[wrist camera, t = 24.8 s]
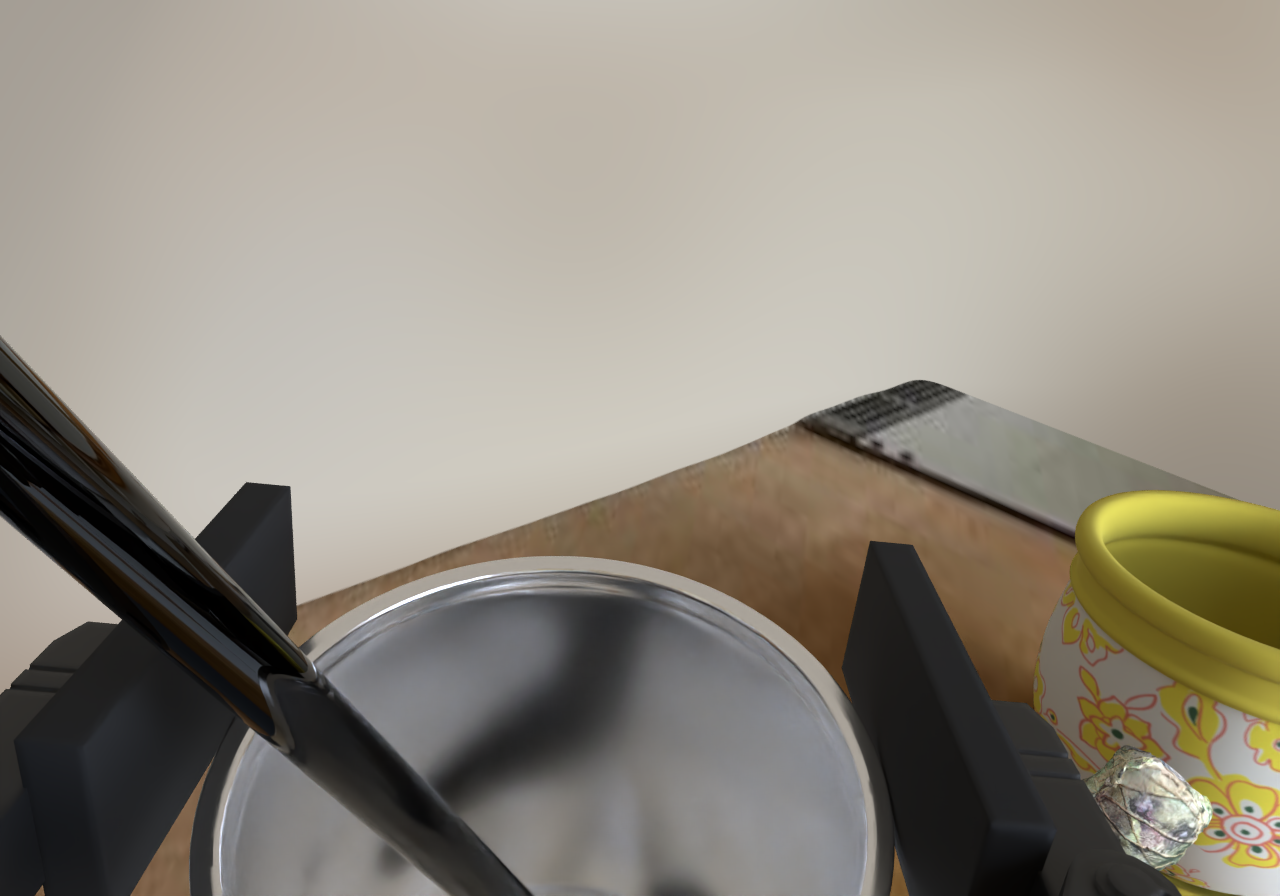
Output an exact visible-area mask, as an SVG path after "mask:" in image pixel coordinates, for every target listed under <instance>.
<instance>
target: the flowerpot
mask: <svg viewBox="0 0 1280 896" xmlns="http://www.w3.org/2000/svg"><path fill="white" fill-rule="evenodd" d="M1075 541H1076V546H1077V550H1078V553H1077V554H1076V555H1075V557H1074V558H1073V560H1072V563H1071V566H1070V580H1069V582H1068V584H1067V586H1066V588H1065V589H1064V591H1063V593H1062V595H1061V597H1060V598H1059V600H1058V602H1057V604H1056V606H1055V608H1054V610H1053V613H1052V615H1051V617H1050V620H1049V622H1048V625H1047V628H1046V630H1045V633H1044V636H1043V639H1042V642H1041V646H1040V649H1039V653H1038V657H1037V662H1036V668H1035V674H1034V709H1035V711H1036V712H1037V713H1038V714H1039V715H1040V716H1041V717H1042V718H1043V719H1045V720H1046V721H1047V722H1048V723H1049V724H1050V725H1051V726H1052V727H1053V728H1054V729H1055V731H1056V733H1057V735H1058V736H1059V738H1060V740H1061V742H1062V743H1063V745H1064V747H1065V749H1066V750H1067V752H1068V758H1069V759H1072V761H1073V762H1074V764H1075V766H1076V768H1077V769H1078V771H1079V773H1080V775H1081V780H1082V779H1085V778H1088V777H1090V776H1092V775H1094V774H1095V773H1096V772H1097V771H1098V770H1100V769H1101V768H1102V767H1104V766H1105V765H1106V763H1107V762H1108V761H1109V760H1110V759H1111V758H1112V757H1113V755H1114V753H1115V752H1116V751H1117V750H1118V749H1120V748H1121V747H1122V746H1124V745H1130V746H1133V747H1136V748H1138V749H1140V750H1143V751H1146V752H1150V753H1151V754H1152V755H1154V756H1156V757H1157V758H1159V759H1161V760H1163V761H1164V762H1165V763H1166V764H1167V765H1169V766H1170V767H1172V768H1173V769H1174V770H1175V771H1176V772H1177V773H1179V774H1180V775H1181V776H1182V777H1183V778H1184V779H1185V781H1186V782H1188V783H1189V784H1190V785H1191V787H1192V788H1193V789H1195V790H1196V791H1198V792H1199V793H1200V794H1201V795H1204V796H1207V798H1208V799H1209V801H1210V803H1211V807H1212V810H1213V814H1212V819H1211V821H1210V823H1209V825H1208V827H1206V828H1204V830H1203V832H1201V833H1200V834H1198V838H1197V840H1196V841H1195V842H1194V843H1193V844H1192V845H1191V846H1190V847H1189V848H1187V849H1186V851H1185V855H1184V856H1183V857H1181V858H1180V861H1179V862H1178V863H1177V864H1175V865H1171V866H1166V867H1165V868H1164V869H1163V870H1160V871H1159V872H1160V873H1161V874H1163V875H1164V876H1165V877H1166V878H1167V879H1168V880H1169V881H1171V882H1172V883H1173V884H1174V885H1175V886H1176V888H1177V889H1178V891H1179V892H1180V893H1181V895H1182V896H1280V511H1279V510H1276V509H1272V508H1268V507H1265V506H1261V505H1256V504H1252V503H1248V502H1244V501H1239V500H1234V499H1229V498H1224V497H1219V496H1213V495H1206V494H1199V493H1191V492H1181V491H1166V490H1142V491H1130V492H1123V493H1118V494H1114V495H1110V496H1107V497H1104V498H1102V499H1099V500H1098V501H1096V502H1094V503H1092V504H1091V505H1090V506H1088V507H1087V508H1086V509H1085V511H1084V512H1083V513H1082V515H1081V516H1080V518H1079V520H1078V523H1077V526H1076V531H1075Z"/></svg>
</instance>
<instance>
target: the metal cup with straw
mask: <svg viewBox="0 0 1280 896" xmlns="http://www.w3.org/2000/svg"><path fill="white" fill-rule="evenodd" d="M0 517H1V518H3V519H4V520H5V521H6V522H7V523H9V524H10V525H11V526H12V527H13V528H14V529H16V530H17V531H18V532H19V533H20V534H22V535H23V536H24V537H25V538H27V540H29V541H30V542H31V543H32V544H33V545H35V546H36V547H37V548H38V549H40V551H42V552H43V553H44V554H45V555H46V556H48V557H49V558H50V559H51V560H52V561H53V562H55V563H56V564H57V565H58V566H59V567H61V568H62V569H63V570H64V571H65V572H67V573H68V574H69V575H70V576H71V577H72V578H74V579H75V580H76V581H77V582H78V583H79V584H81V585H82V586H83V587H84V588H85V589H87V590H88V591H89V592H90V593H91V594H93V595H94V596H95V597H96V598H97V599H98V600H100V601H101V602H102V603H103V604H104V605H105V606H107V607H108V608H109V609H110V610H111V611H113V612H114V613H115V614H116V615H118V617H120V618H121V619H122V620H123V621H124V622H126V623H127V624H128V625H129V626H130V627H131V628H133V629H134V630H135V631H136V632H137V633H139V634H140V635H141V636H142V637H143V638H144V639H146V640H147V641H148V642H149V643H150V644H152V645H153V646H154V647H155V648H156V649H157V650H159V651H160V652H161V653H162V654H163V655H165V656H166V657H167V658H168V659H169V660H170V661H172V662H173V663H174V664H175V665H176V666H178V667H179V668H180V669H181V670H182V671H183V672H185V673H186V674H187V675H188V676H189V677H191V678H192V679H193V680H194V681H195V682H196V683H198V684H199V685H200V686H201V687H202V688H204V689H205V690H206V691H207V692H208V693H209V694H211V695H212V696H213V697H214V698H215V699H217V700H218V701H219V702H220V703H221V704H222V705H224V706H225V707H226V708H227V709H228V710H230V711H231V712H232V713H233V714H234V715H236V716H237V717H236V719H235V720H234V722H233V723H232V725H231V727H230V728H229V730H228V732H227V733H226V735H225V737H224V739H223V740H222V742H221V744H220V746H219V748H218V750H217V752H216V754H215V756H214V759H213V761H212V763H211V766H210V768H209V770H208V773H207V776H206V778H205V781H204V784H203V787H202V790H201V793H200V797H199V800H198V804H197V808H196V812H195V817H194V822H193V828H192V835H191V842H190V855H189V883H190V896H890V891H891V886H892V878H893V870H894V844H895V839H894V823H893V814H892V807H891V801H890V795H889V791H888V786H887V782H886V778H885V775H884V771H883V768H882V765H881V762H880V759H879V756H878V754H877V751H876V749H875V746H874V744H873V742H872V739H871V737H870V735H869V733H868V731H867V729H866V727H865V725H864V723H863V721H862V719H861V718H860V716H859V714H858V713H857V711H856V709H855V708H854V706H853V704H852V703H851V701H850V700H849V698H848V697H847V695H846V694H845V693H844V691H843V690H842V689H841V687H840V686H839V685H838V683H837V682H836V681H835V680H834V678H833V677H832V676H831V675H830V674H829V672H828V671H827V670H826V669H825V668H824V667H823V666H822V665H821V664H820V662H819V661H818V660H817V659H816V658H815V657H814V656H813V655H812V654H811V653H810V652H809V651H808V650H806V649H805V648H804V647H803V646H802V645H801V644H800V643H799V642H798V641H796V640H795V639H794V638H793V637H792V636H790V635H789V634H788V633H787V632H786V631H784V630H783V629H782V628H780V627H779V626H778V625H776V624H775V623H773V622H772V621H770V620H769V619H768V618H766V617H765V616H763V615H762V614H760V613H758V612H757V611H755V610H754V609H752V608H750V607H748V606H747V605H745V604H743V603H741V602H740V601H738V600H736V599H734V598H732V597H730V596H728V595H726V594H724V593H722V592H720V591H718V590H715V589H713V588H711V587H709V586H706V585H704V584H701V583H699V582H696V581H693V580H691V579H688V578H685V577H682V576H679V575H676V574H673V573H670V572H666V571H663V570H659V569H655V568H651V567H647V566H643V565H638V564H633V563H628V562H622V561H615V560H608V559H600V558H590V557H574V556H538V557H522V558H511V559H503V560H496V561H489V562H483V563H478V564H473V565H468V566H464V567H459V568H455V569H451V570H447V571H444V572H440V573H437V574H434V575H431V576H427V577H424V578H421V579H419V580H416V581H413V582H410V583H408V584H405V585H403V586H400V587H398V588H395V589H393V590H391V591H388V592H386V593H384V594H382V595H380V596H378V597H376V598H374V599H372V600H370V601H368V602H366V603H364V604H362V605H360V606H358V607H357V608H355V609H353V610H351V611H350V612H348V613H346V614H345V615H343V616H341V617H340V618H338V619H337V620H335V621H334V622H332V623H331V624H329V625H328V626H326V627H325V628H323V629H322V630H321V631H319V632H318V633H316V634H315V635H314V636H312V637H311V638H310V639H309V640H307V641H306V642H305V643H304V644H302V645H301V646H300V647H299V648H298V647H297V646H296V645H295V644H294V643H293V641H292V640H291V639H290V638H289V637H288V636H287V635H286V634H285V633H284V632H283V631H282V630H281V629H280V628H279V627H278V626H277V625H276V624H275V623H274V622H273V621H272V619H271V618H270V617H269V616H268V615H267V614H266V613H265V612H264V611H263V610H262V609H261V608H260V607H259V606H258V605H257V604H256V603H255V602H254V601H253V600H252V599H251V597H250V596H249V595H248V594H247V593H246V592H245V591H244V590H243V589H242V588H241V587H240V586H239V585H238V584H237V583H236V582H235V581H234V580H233V579H232V578H231V577H230V575H229V574H228V573H227V572H226V571H225V570H224V569H223V568H222V567H221V566H220V565H219V564H218V563H217V562H216V561H215V560H214V559H213V558H212V557H211V556H210V554H209V553H208V552H207V551H206V550H205V549H204V548H203V547H202V546H201V545H200V544H199V543H198V542H197V541H196V540H195V539H194V538H193V537H192V536H191V535H190V534H189V533H188V531H187V530H186V529H185V528H184V527H183V526H182V525H181V524H180V523H179V522H178V521H177V520H176V519H175V518H174V517H173V516H172V515H171V514H170V513H169V512H168V510H166V508H165V507H164V506H163V505H162V504H161V503H160V502H159V501H158V500H157V499H156V498H155V497H154V496H153V495H152V494H151V493H150V492H149V491H148V490H147V489H146V487H145V486H144V485H143V484H142V483H141V482H140V481H139V480H138V479H137V478H136V477H135V476H134V475H133V474H132V473H131V472H130V471H129V470H128V469H127V467H125V466H124V464H123V463H122V462H121V461H120V460H119V459H118V458H117V457H116V456H115V455H114V454H113V453H112V452H111V451H110V450H109V449H108V448H107V447H106V446H105V444H104V443H103V442H102V441H101V440H100V439H99V438H98V437H97V436H96V435H95V434H94V433H93V432H92V431H91V430H90V429H89V428H88V427H87V426H86V425H85V424H84V422H83V421H82V420H81V419H79V417H78V416H77V415H76V414H75V413H74V412H73V411H72V410H71V409H70V408H69V407H68V406H67V405H66V404H65V403H64V402H63V401H62V400H61V398H60V397H59V396H58V395H57V394H56V393H55V392H54V391H53V390H52V389H51V388H50V387H49V386H48V385H47V384H46V383H45V382H44V381H43V379H42V378H41V377H40V376H39V375H38V374H37V373H36V372H35V371H34V370H33V369H32V368H31V367H30V366H29V365H28V364H27V363H26V362H25V361H24V360H23V358H22V357H21V356H20V355H19V354H18V353H17V352H16V351H15V350H14V349H13V348H12V347H11V346H10V345H9V344H8V343H7V342H6V341H5V340H4V339H3V338H2V337H1V335H0Z"/></svg>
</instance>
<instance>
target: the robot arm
mask: <svg viewBox="0 0 1280 896" xmlns="http://www.w3.org/2000/svg"><path fill="white" fill-rule="evenodd" d="M195 540H196V541H197V542H198V543H199V544H200V545H201V546H202V547H203V548H204V549H205V550H206V551H207V552H208V553H209V554H210V556H211V557H212V558H213V559H214V560H215V561H216V562H217V563H218V564H219V565H220V566H221V567H222V568H223V569H224V570H225V571H226V572H227V573H228V574H229V575H230V577H231V578H232V579H233V580H234V581H235V582H236V583H237V584H238V585H239V586H240V587H241V588H242V589H243V590H244V591H245V592H246V593H247V594H248V595H249V596H250V597H251V599H252V600H253V601H254V602H255V603H256V604H257V605H258V606H259V607H260V608H261V609H262V610H263V611H264V612H265V613H266V614H267V615H268V616H269V617H270V618H271V619H272V621H273V622H274V623H275V624H276V625H277V626H278V627H279V628H280V629H281V630H282V631H283V632H284V633H285V634H286V635H288V633H289V632H290V630H291V628H292V627H293V625H294V623H295V622H296V620H297V607H296V588H295V569H294V549H293V529H292V511H291V490H290V486H279V485H269V484H258V483H249V482H246V483H245V484H244V485H243V486H242V488H241V489H240V490H239V491H238V492H237V493H236V494H235V495H234V496H233V498H232V499H231V500H230V501H229V502H228V503H227V504H226V505H225V506H224V507H223V509H222V510H221V511H220V512H219V513H218V514H217V515H216V516H215V518H214V519H213V520H212V521H211V522H210V523H209V524H208V525H207V526H206V527H205V529H204V530H203V531H202V532H201V533H200V534H199V535H198V536H197V537H196V538H195ZM842 670H843V674H844V677H845V681H846V684H847V687H848V691H849V694H850V697H851V701H852V704H853V706H854V708H855V709H856V711H857V713H858V714H859V716H860V718H861V719H862V721H863V723H864V725H865V727H866V729H867V731H868V733H869V735H870V737H871V739H872V742H873V744H874V746H875V749H876V751H877V754H878V756H879V759H880V762H881V765H882V768H883V771H884V775H885V778H886V782H887V786H888V791H889V795H890V801H891V807H892V814H893V823H894V839H895V844H894V845H895V849H896V852H897V855H898V859H899V862H900V866H901V869H902V872H903V876H904V879H905V882H906V886H907V889H908V892H909V896H1182V895H1181V893H1180V892H1179V891H1178V889H1177V888H1176V886H1175V885H1174V884H1173V883H1172V882H1171V881H1169V880H1168V879H1167V878H1166V877H1165V876H1164V875H1163V874H1161V873H1160V872H1159V871H1158V870H1157V869H1155V868H1154V867H1152V866H1150V865H1148V864H1146V863H1145V862H1143V861H1141V860H1139V859H1138V858H1136V857H1134V856H1131V855H1128V854H1126V853H1125V851H1124V849H1123V847H1122V846H1121V844H1120V842H1119V840H1118V839H1117V837H1116V835H1115V834H1114V832H1113V830H1112V828H1111V827H1110V825H1109V823H1108V821H1107V820H1106V818H1105V816H1104V814H1103V813H1102V811H1101V809H1100V808H1099V806H1098V804H1097V802H1096V801H1095V799H1094V797H1093V795H1092V794H1091V792H1090V790H1089V788H1088V787H1087V785H1086V783H1085V781H1083V780H1081V775H1080V773H1079V771H1078V769H1077V768H1076V766H1075V764H1074V762H1073V761H1072V759H1069V758H1068V752H1067V750H1066V749H1065V747H1064V745H1063V743H1062V742H1061V740H1060V738H1059V736H1058V735H1057V733H1056V731H1055V729H1054V728H1053V727H1052V726H1051V725H1050V724H1049V723H1048V722H1047V721H1046V720H1045V719H1043V718H1042V717H1041V716H1040V715H1039V714H1038V713H1037V712H1036V711H1035V710H1033V709H1032V708H1031V707H1030V706H1029V705H1028V704H1027V703H1018V702H1007V701H996V700H991V698H990V696H989V694H988V692H987V690H986V689H985V687H984V685H983V683H982V681H981V679H980V677H979V675H978V673H977V671H976V669H975V667H974V665H973V663H972V661H971V659H970V657H969V655H968V653H967V651H966V649H965V647H964V645H963V643H962V641H961V639H960V637H959V635H958V633H957V631H956V629H955V627H954V625H953V623H952V621H951V620H950V618H949V616H948V614H947V612H946V610H945V608H944V606H943V604H942V602H941V600H940V598H939V596H938V594H937V592H936V590H935V588H934V586H933V584H932V582H931V580H930V578H929V576H928V574H927V572H926V570H925V568H924V566H923V564H922V562H921V560H920V558H919V556H918V554H917V552H916V551H915V549H914V547H913V545H908V544H897V543H887V542H876V541H870V544H869V548H868V553H867V557H866V562H865V566H864V571H863V575H862V580H861V584H860V589H859V593H858V598H857V602H856V607H855V611H854V616H853V620H852V625H851V629H850V634H849V638H848V643H847V647H846V652H845V656H844V661H843V665H842ZM236 717H237V716H236V715H234V714H233V713H232V712H231V711H230V710H228V709H227V708H226V707H225V706H224V705H222V704H221V703H220V702H219V701H218V700H217V699H215V698H214V697H213V696H212V695H211V694H209V693H208V692H207V691H206V690H205V689H204V688H202V687H201V686H200V685H199V684H198V683H196V682H195V681H194V680H193V679H192V678H191V677H189V676H188V675H187V674H186V673H185V672H183V671H182V670H181V669H180V668H179V667H178V666H176V665H175V664H174V663H173V662H172V661H170V660H169V659H168V658H167V657H166V656H165V655H163V654H162V653H161V652H160V651H159V650H157V649H156V648H155V647H154V646H153V645H152V644H150V643H149V642H148V641H147V640H146V639H144V638H143V637H142V636H141V635H140V634H139V633H137V632H136V631H135V630H134V629H133V628H131V627H130V626H129V625H128V624H127V623H126V622H124V621H123V620H122V621H121V622H120V623H119V624H109V623H98V622H86V623H85V624H83V625H81V626H79V627H78V628H76V629H74V630H72V631H70V632H68V633H67V634H65V635H63V636H61V637H60V638H58V639H56V640H54V641H53V642H52V643H51V644H50V645H49V646H48V647H47V648H46V649H45V650H44V651H43V652H42V653H41V654H40V655H39V656H38V657H37V658H36V659H35V660H34V661H33V662H32V663H31V664H30V668H29V670H27V669H26V670H24V671H23V672H22V673H21V674H20V675H19V676H18V677H17V678H16V679H15V680H14V681H13V682H12V684H11V687H10V689H6V690H5V691H4V692H3V693H2V694H1V695H0V896H35V894H36V893H37V892H38V890H39V889H40V887H41V886H42V885H43V888H44V893H45V896H130V895H131V893H132V891H133V890H134V888H135V886H136V885H137V883H138V881H139V880H140V878H141V876H142V875H143V873H144V871H145V870H146V868H147V866H148V865H149V863H150V862H151V860H152V858H153V857H154V855H155V853H156V852H157V850H158V848H159V847H160V845H161V843H162V842H163V840H164V838H165V837H166V835H167V833H168V832H169V830H170V828H171V827H172V825H173V824H174V822H175V820H176V819H177V817H178V815H179V814H180V812H181V810H182V809H183V807H184V805H185V804H186V802H187V800H188V799H189V797H190V795H191V794H192V792H193V790H194V789H195V787H196V785H197V784H198V782H199V781H200V779H201V777H202V776H203V774H204V772H205V771H206V769H207V767H208V766H209V764H210V762H211V761H212V759H213V757H214V756H215V754H216V752H217V750H218V748H219V746H220V744H221V742H222V740H223V739H224V737H225V735H226V733H227V732H228V730H229V728H230V727H231V725H232V723H233V722H234V720H235V719H236Z"/></svg>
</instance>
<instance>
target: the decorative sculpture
mask: <svg viewBox="0 0 1280 896" xmlns="http://www.w3.org/2000/svg"><path fill="white" fill-rule="evenodd" d="M1082 780H1083V781H1085V783H1086V785H1087V787H1088V788H1089V790H1090V792H1091V794H1092V795H1093V797H1094V799H1095V801H1096V802H1097V804H1098V806H1099V808H1100V809H1101V811H1102V813H1103V814H1104V816H1105V818H1106V820H1107V821H1108V823H1109V825H1110V827H1111V828H1112V830H1113V832H1114V834H1115V835H1116V837H1117V839H1118V840H1119V842H1120V844H1121V846H1122V847H1123V849H1124V851H1125V853H1126V854H1128V855H1131V856H1134V857H1136V858H1138V859H1139V860H1141V861H1143V862H1145V863H1146V864H1148V865H1150V866H1152V867H1154V868H1155V869H1157V870H1158V871H1160V870H1163V869H1164V868H1165V867H1166V866H1171V865H1175V864H1177V863H1178V862H1179V861H1180V858H1181V857H1183V856H1184V855H1185V851H1186V849H1187V848H1189V847H1190V846H1191V845H1192V844H1193V843H1194V842H1195V841H1196V840H1197V838H1198V834H1200V833H1201V832H1203V830H1204V828H1206V827H1208V825H1209V823H1210V821H1211V819H1212V814H1213V810H1212V807H1211V803H1210V801H1209V799H1208V798H1207V796H1204V795H1201V794H1200V793H1199V792H1198V791H1196V790H1195V789H1193V788H1192V787H1191V785H1190V784H1189V783H1188V782H1186V781H1185V779H1184V778H1183V777H1182V776H1181V775H1180V774H1179V773H1177V772H1176V771H1175V770H1174V769H1173V768H1172V767H1170V766H1169V765H1167V764H1166V763H1165V762H1164V761H1163V760H1161V759H1159V758H1157V757H1156V756H1154V755H1152V754H1151V753H1150V752H1146V751H1143V750H1140V749H1138V748H1136V747H1133V746H1130V745H1124V746H1122V747H1121V748H1120V749H1118V750H1117V751H1116V752H1115V753H1114V755H1113V757H1112V758H1111V759H1110V760H1109V761H1108V762H1107V763H1106V765H1105V766H1104V767H1102V768H1101V769H1100V770H1098V771H1097V772H1096V773H1095V774H1094V775H1092V776H1090V777H1088V778H1085V779H1082Z"/></svg>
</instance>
